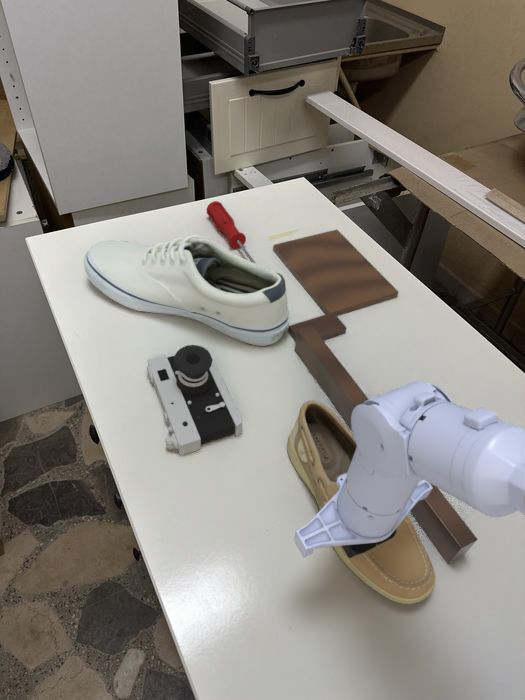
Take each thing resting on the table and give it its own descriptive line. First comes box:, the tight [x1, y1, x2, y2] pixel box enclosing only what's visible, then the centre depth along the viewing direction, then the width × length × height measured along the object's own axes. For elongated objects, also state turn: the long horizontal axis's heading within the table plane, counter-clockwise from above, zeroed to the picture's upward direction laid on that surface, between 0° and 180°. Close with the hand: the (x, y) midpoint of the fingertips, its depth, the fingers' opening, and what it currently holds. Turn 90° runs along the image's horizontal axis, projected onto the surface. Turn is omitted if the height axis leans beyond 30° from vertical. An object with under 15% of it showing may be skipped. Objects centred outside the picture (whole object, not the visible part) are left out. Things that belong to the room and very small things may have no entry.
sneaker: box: [83, 234, 291, 347], centre depth 82 cm, size 13×35×13 cm, turn 70°
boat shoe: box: [286, 399, 437, 605], centre depth 60 cm, size 9×25×8 cm, turn 31°
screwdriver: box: [206, 200, 257, 264], centre depth 95 cm, size 4×25×4 cm, turn 26°
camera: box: [146, 344, 243, 456], centre depth 70 cm, size 15×7×10 cm
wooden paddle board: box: [272, 229, 478, 565], centre depth 79 cm, size 60×23×4 cm, turn 27°
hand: (348, 547), depth 56 cm, fingers closed
